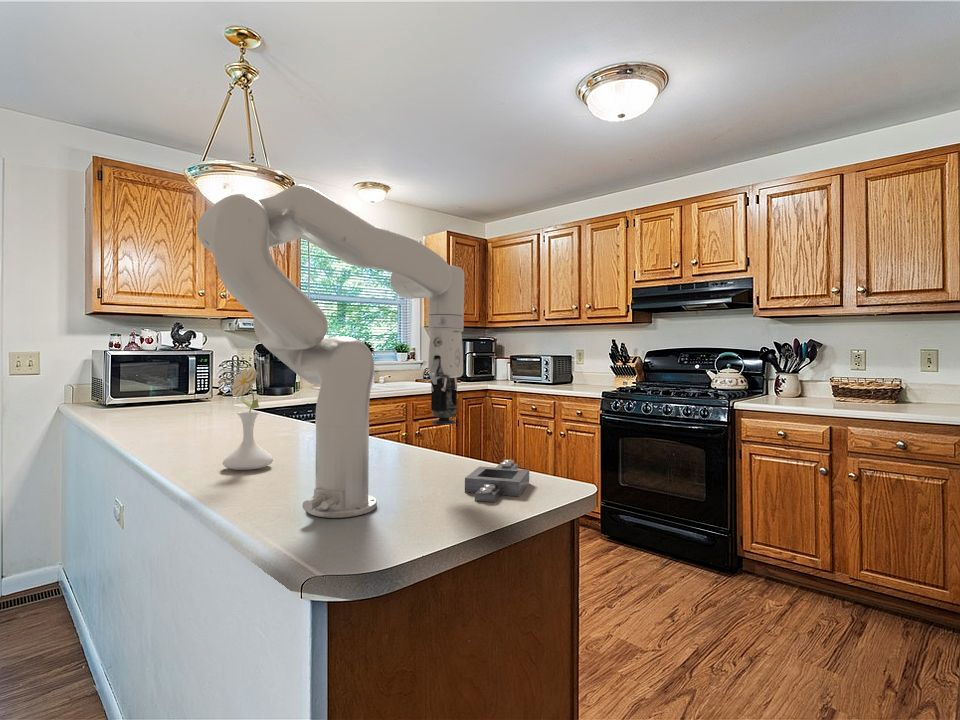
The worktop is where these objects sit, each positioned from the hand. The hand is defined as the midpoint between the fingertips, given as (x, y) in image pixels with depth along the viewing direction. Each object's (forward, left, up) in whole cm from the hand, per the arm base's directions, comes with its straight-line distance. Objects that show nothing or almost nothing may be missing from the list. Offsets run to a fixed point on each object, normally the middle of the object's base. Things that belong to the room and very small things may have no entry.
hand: (444, 408), depth 114 cm
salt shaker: (0, 0, -3) cm, 3 cm away
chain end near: (+1, -11, -17) cm, 20 cm away
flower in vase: (+2, +51, -17) cm, 54 cm away
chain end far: (+7, -11, -17) cm, 21 cm away
